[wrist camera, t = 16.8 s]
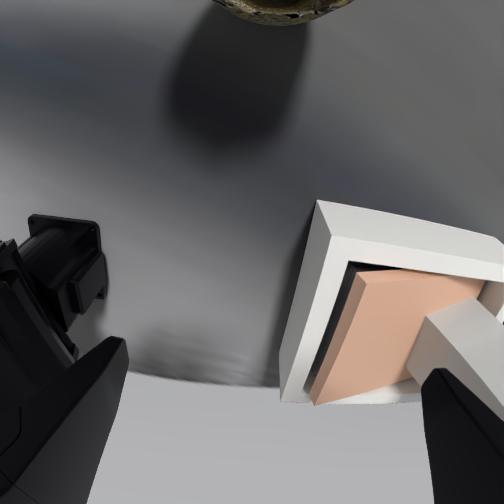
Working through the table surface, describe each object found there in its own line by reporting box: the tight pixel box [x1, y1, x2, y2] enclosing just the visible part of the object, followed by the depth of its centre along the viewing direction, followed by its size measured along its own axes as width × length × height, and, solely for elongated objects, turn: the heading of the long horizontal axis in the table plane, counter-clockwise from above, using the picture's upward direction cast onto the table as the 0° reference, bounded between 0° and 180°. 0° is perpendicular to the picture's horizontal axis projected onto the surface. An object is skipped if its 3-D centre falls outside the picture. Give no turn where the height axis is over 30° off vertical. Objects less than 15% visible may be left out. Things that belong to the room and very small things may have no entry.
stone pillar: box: [405, 296, 504, 421], centre depth 14 cm, size 5×5×12 cm
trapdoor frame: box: [279, 200, 504, 404], centre depth 21 cm, size 15×13×5 cm
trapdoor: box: [309, 260, 486, 405], centre depth 20 cm, size 12×10×4 cm
